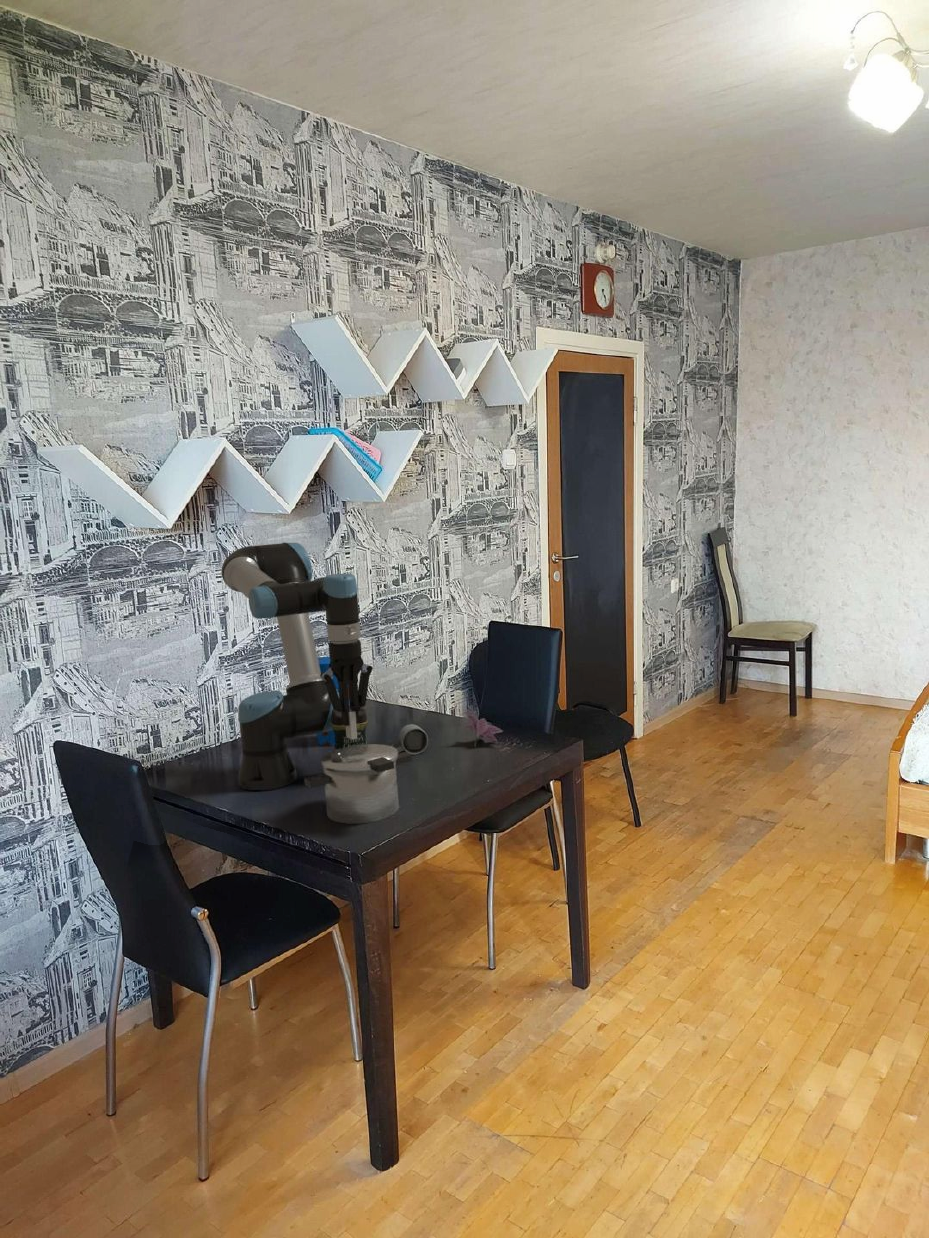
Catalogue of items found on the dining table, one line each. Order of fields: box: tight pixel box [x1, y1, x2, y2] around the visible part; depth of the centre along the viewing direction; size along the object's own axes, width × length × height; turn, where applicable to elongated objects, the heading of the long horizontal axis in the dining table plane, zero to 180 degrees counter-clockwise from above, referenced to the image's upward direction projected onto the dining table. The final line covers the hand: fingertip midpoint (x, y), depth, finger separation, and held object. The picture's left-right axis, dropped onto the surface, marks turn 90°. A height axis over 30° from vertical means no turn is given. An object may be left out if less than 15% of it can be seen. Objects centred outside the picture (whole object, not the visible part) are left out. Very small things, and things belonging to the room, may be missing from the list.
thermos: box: [316, 656, 350, 747], centre depth 265 cm, size 11×11×25 cm
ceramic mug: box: [390, 723, 429, 756], centre depth 252 cm, size 11×8×8 cm
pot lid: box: [320, 743, 399, 772], centre depth 206 cm, size 22×18×3 cm
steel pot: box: [303, 751, 413, 825], centre depth 210 cm, size 19×27×12 cm
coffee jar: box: [331, 706, 369, 750], centre depth 233 cm, size 10×8×19 cm
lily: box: [463, 712, 504, 748], centre depth 254 cm, size 12×12×10 cm
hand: (351, 737), depth 210 cm, fingers closed
